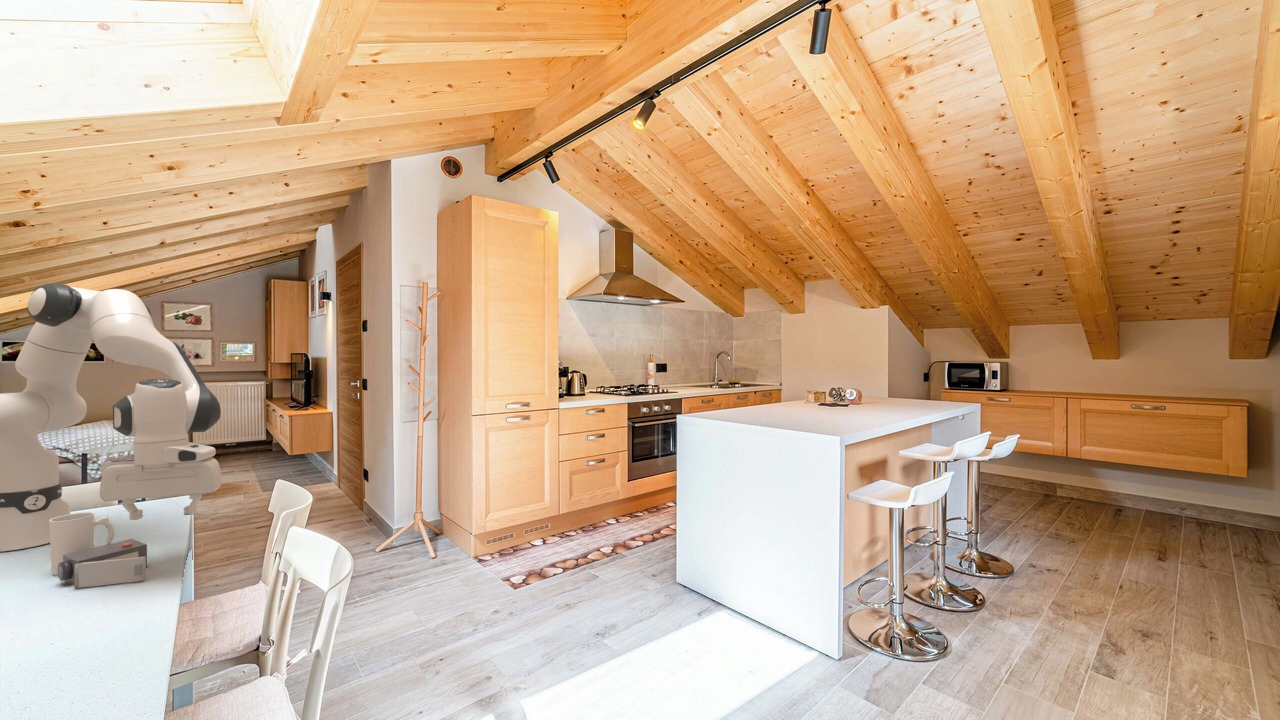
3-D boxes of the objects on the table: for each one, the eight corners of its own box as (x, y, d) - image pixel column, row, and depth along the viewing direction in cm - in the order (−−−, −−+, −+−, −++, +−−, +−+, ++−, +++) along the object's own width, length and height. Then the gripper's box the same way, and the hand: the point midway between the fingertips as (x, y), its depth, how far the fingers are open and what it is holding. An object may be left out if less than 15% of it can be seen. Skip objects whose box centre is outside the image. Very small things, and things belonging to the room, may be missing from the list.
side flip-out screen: (77, 586, 107) (76, 563, 107) (146, 578, 110) (145, 556, 110) (72, 588, 106) (72, 565, 106) (142, 580, 109) (142, 558, 109)
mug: (46, 579, 111) (45, 523, 111) (53, 569, 116) (52, 516, 116) (112, 566, 117) (112, 514, 117) (116, 558, 123) (116, 507, 123)
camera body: (54, 582, 109) (53, 554, 109) (131, 561, 120) (131, 536, 120) (68, 590, 106) (68, 560, 106) (147, 568, 117) (147, 541, 116)
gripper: (90, 459, 106) (92, 526, 106) (210, 452, 112) (212, 515, 112) (111, 454, 112) (112, 517, 112) (224, 447, 118) (225, 507, 118)
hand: (163, 516), depth 112 cm, fingers open, 8 cm apart
